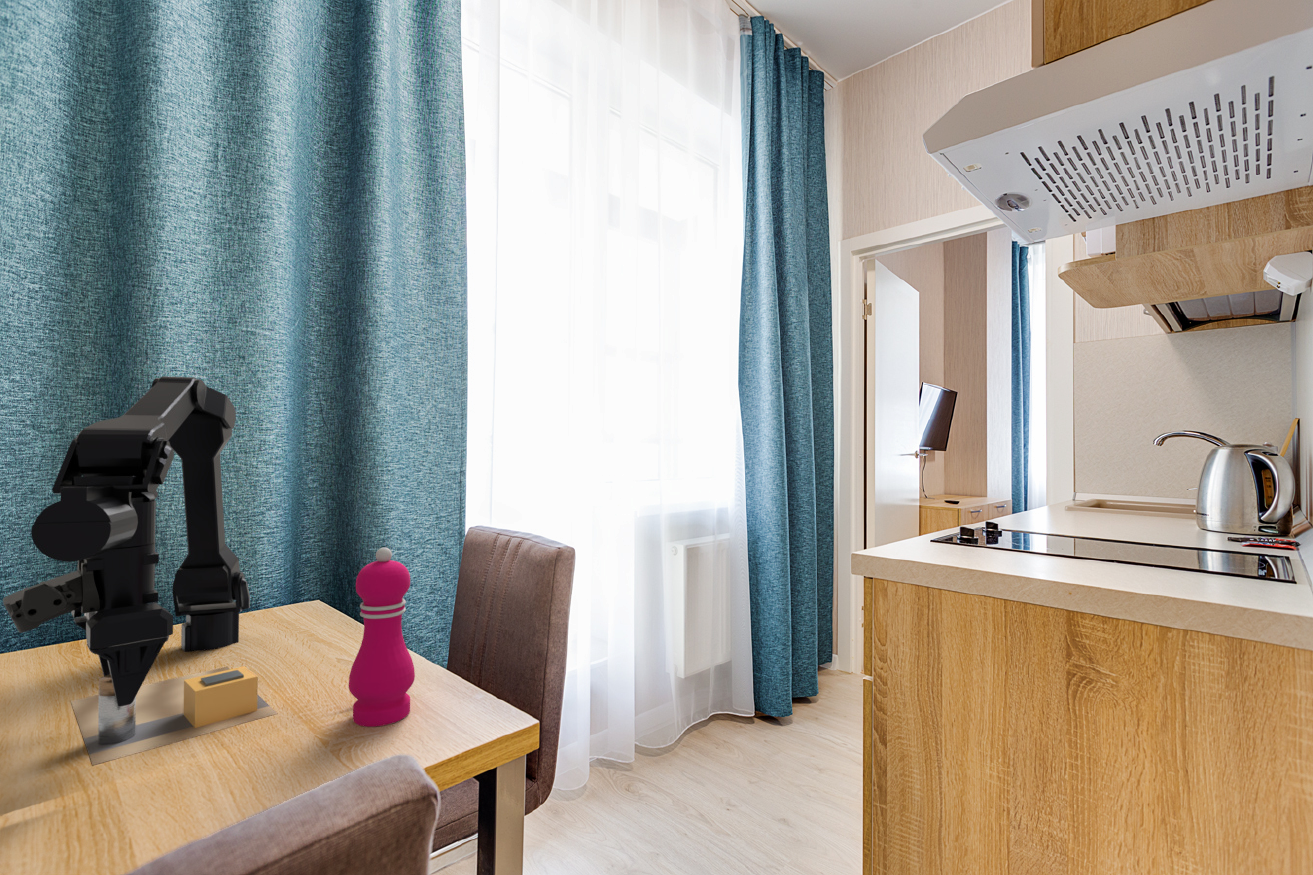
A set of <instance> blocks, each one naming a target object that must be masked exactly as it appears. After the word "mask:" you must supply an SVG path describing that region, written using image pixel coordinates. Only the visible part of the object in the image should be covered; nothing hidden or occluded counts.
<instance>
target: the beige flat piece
mask: <svg viewBox="0 0 1313 875" xmlns="http://www.w3.org/2000/svg"><path fill="white" fill-rule="evenodd" d="M230 669H231V668H229V667H228V666H224V667H219V668H214V669H211V670H206V671H205V670H204V671H201V672H200V671H199V672H197V673H192V674H187V675H182V676H178V677H174V678H170V679H169V678H168V679H165V680H160V681H156V682H151V683H150V682H149V683H147V684H142V685H141V687H140V689H139V691H138V693H137V695H136V734H135V736H134V737H132V738H130V739H128V740H126V741H123V742H120V743H116V744H110V745H101V744H99V743H98V707H99V694H97V695H95V694H94V695H92V696H87V697H82V698H78V699H74V700H70V703H71V707H72V709H73V712H74V715H75V718H76V721H77V724H78V727H79V730H80V733H81V735H82V739H83V741H84V745H85V748H86V750H87V754H88V756H89V759H90V762H91V766H96V765H100V764H104V763H107V762H110V761H114V760H117V759H122V758H124V757H125V758H126V757H129V756H132V755H136V754H138V753H139V754H140V753H142V752H147V751H150V750H153V749H157V748H161V747H165V746H168V745H171V744H175V743H178V742H182V741H186V740H190V739H193V738H195V737H196V738H197V737H199V736H203V735H204V736H205V735H207V734H211V733H215V732H218V731H221V730H225V729H229V728H232V727H235V726H240V725H243V724H246V723H249V722H253V721H257V720H261V719H264V718H268V717H271V716H274V715H278V714H279V713H278V712H277V711H276V709H274V708H273V707H272V706H271V705H270V704H269V703H268V702H266V701H265V700H264V698H262V696H260V695H259V694H258V693H257V711H254V712H250V713H247V714H243V715H240V716H236V717H232V718H229V719H225V720H222V721H218V722H215V723H211V724H207V725H204V726H200V727H197V728H194V726H193V725H192V724H191V723H190V722H189V721H188V720H187V718H186V717H185V716H184V715H183V708H184V680H186V679H190V678H195V677H199V676H203V675H208V674H212V673H217V672H221V671H225V670H230Z"/></svg>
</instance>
